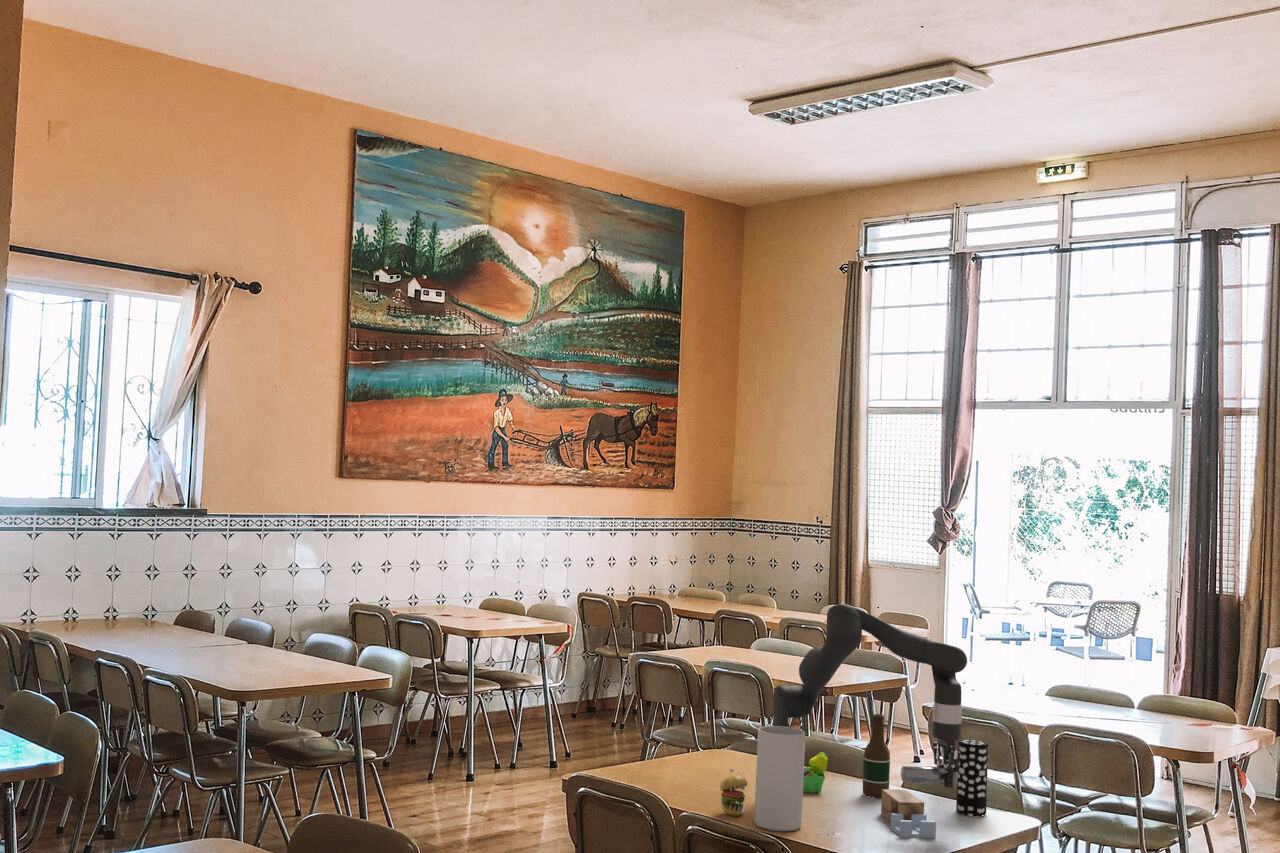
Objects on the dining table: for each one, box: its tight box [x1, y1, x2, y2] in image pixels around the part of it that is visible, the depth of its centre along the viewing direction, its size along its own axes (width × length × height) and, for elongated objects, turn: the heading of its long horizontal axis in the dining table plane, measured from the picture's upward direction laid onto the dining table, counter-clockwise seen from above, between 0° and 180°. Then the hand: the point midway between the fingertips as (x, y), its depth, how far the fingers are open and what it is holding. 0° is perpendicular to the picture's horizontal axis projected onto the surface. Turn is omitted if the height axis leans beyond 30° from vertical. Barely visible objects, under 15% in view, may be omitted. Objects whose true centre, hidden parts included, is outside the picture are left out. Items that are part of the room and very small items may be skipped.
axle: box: [900, 765, 957, 785], centre depth 309 cm, size 14×4×4 cm, turn 97°
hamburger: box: [719, 768, 748, 817], centre depth 318 cm, size 8×7×12 cm
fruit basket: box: [803, 751, 829, 794], centre depth 352 cm, size 11×9×11 cm
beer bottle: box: [862, 713, 891, 799], centre depth 349 cm, size 8×8×24 cm
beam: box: [880, 788, 925, 822], centre depth 319 cm, size 7×14×7 cm, turn 7°
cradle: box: [890, 813, 937, 838], centre depth 307 cm, size 10×8×4 cm
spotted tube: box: [955, 738, 989, 817], centre depth 333 cm, size 8×8×20 cm
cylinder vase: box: [753, 725, 806, 832], centre depth 308 cm, size 12×12×25 cm
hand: (945, 784), depth 309 cm, fingers closed on axle, 4 cm apart
